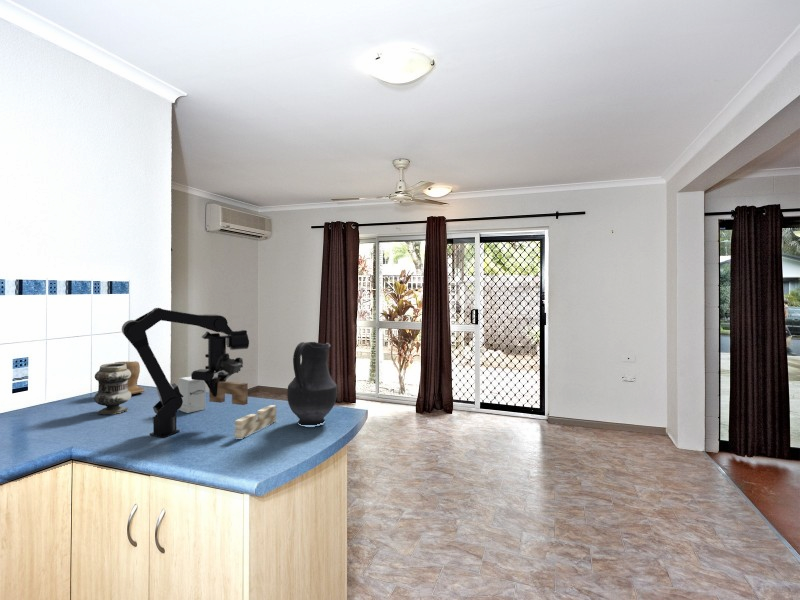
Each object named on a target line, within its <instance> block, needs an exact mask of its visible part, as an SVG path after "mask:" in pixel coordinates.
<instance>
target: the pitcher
mask: <svg viewBox="0 0 800 600" xmlns="http://www.w3.org/2000/svg"><path fill="white" fill-rule="evenodd" d="M330 348H331V344H330V343H329V342H326V343H320V342H318V341H317V342H316V341H308V342H307V341H306V342H304V341H303V342H302V341H301V342H299V343H298V344H297V345H296V347H295V349H294V352H293V357H292V362H293V370H294V376H295V377H294V378H293V379H292V380H291V381H290V383H289V384H288V385H287V392H286V393H287V394H286V395H287V404H288V407H289V408H290V410H291V412H292V413H293V414H294V416H295V415H296V417H297V418H298V419H299V420H298V421H297V424H298V423H299V424H301V425H317V424H320V423H323V422H324V421H326V419H325V417H326V416H327V415H328V414H329V413H330V412H331V411H332V409H333V408H334V406H335V404H336V402H337V397H338V385H337V383H336V382H335V381H334V380H333V379H332V378H333V377H332V376H331V373H330V371H329V366H328V352H329V349H330Z"/></svg>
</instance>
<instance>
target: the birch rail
mask: <svg viewBox="0 0 800 600" xmlns="http://www.w3.org/2000/svg"><path fill="white" fill-rule="evenodd" d="M256 412H257V413H256V414H254V413H250V414H247V415H245V416H242V417H240V418H238V419H236V420H235V421H234V439H235V438H243V437H245V436H247V435H249V434H251V433H253V432H255V431H257V430H259V429H261V428H263V427H265V426H267V425H269V424H271V423H273V422H275V421H276V422H277V405H275V404H274V405H273V404H270V405H268V406H265V407H263V408H261V409H258V410H257V411H256Z"/></svg>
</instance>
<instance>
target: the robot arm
mask: <svg viewBox="0 0 800 600" xmlns="http://www.w3.org/2000/svg"><path fill="white" fill-rule="evenodd" d="M160 321H162V322H170V323H178V324H184V325H188V326H189V325H191V326H198V327H200V328H203V329H206V330H208V331H205V333H204V334H203V335H202V336H201V338H202V339H203V340H207V345H208V346H207V349H208V350H207V353H205V358H207V364H208V365H205V367H204V368H203V369H202V368H199V369H195V370H193V371H192V372H191V376H190V377H191V379H193V380H204V381H205V383H206V386H207V387H208V389H210V391H211V393H212V395H213V396H214V397H216V396H217V385H218V381H226V382H227V379H229V377H231V376H232V375H234V374H237V373H239V372H241V368H243V367H244V361H243V360H244V359H243V358H242V357H236V358H235V359H234V358H230V353H228V352H227V348H229V350H230V351H236V350H237V351H238V350H247V349H249V346H250V339H249V336H248V331H247V330H245V329H241V330H232V329H231V327H230V326H229V325H228V319H227V318H226V316H223V315H220V314H194V313H188V312H184V311H183V312H182V311H176V310H170V309H165V308H164V309H163V308H161V307H154V308H153V309H151V310H150V311H149V312H146V313H145V314H143V315H141V316H139V317H137V318H136V319H130V320H127V321H124V323H123V324H122V326H121V332H122V334H123V336H124V337H125V338H126V339H127V340H128V342H129V343H130V344H131V345H132V347H134V349H135V350H136V351H137V354H138V355H139V357H140V359H141V361H142V362H143V365H144V366H145V369H147V372H148V374H149V376H150V378H151V379H152V381H153V383H154V384H155V386H156V392H157V394H158V399H159V400H158V402H157V403H155V405H154V406H153V407H152V410H153V411H154V413H155V415H154V416H153V418H152V419H153V420H152V422H153V425H152V427H153V428H152V429H153V432H151V433H149V436H151V435H153V437H159V436H160V437H161V438H168V437H169V436H172V435H175V434H176V433H177V434H178V433H179V432H180V429H177V416H176V415H177V412H178V411H179V409H180V407H181V406H182V403H183V400H182V398H181V397H184V396H183V395H182V394H181V393H180V391H179V385H177V384H176V383H175V382H174V383H171V384H170V382H169V381H168V378H167V377H166V375H165V373H164V371H163V369H162V367H161V365H160V364H159V361H158V359H157V358H156V356H155V354H154V352H153V350H152V348H151V346H150V344H149V339H148V336H147V331H148V330H149V329H151V328H152V327H153V326H155V325H157V323H159V322H160ZM209 330H210V331H212V332H213V333H210V332H209ZM214 332H215V333H214ZM220 333H222V334H225V335H221V334H220Z"/></svg>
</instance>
